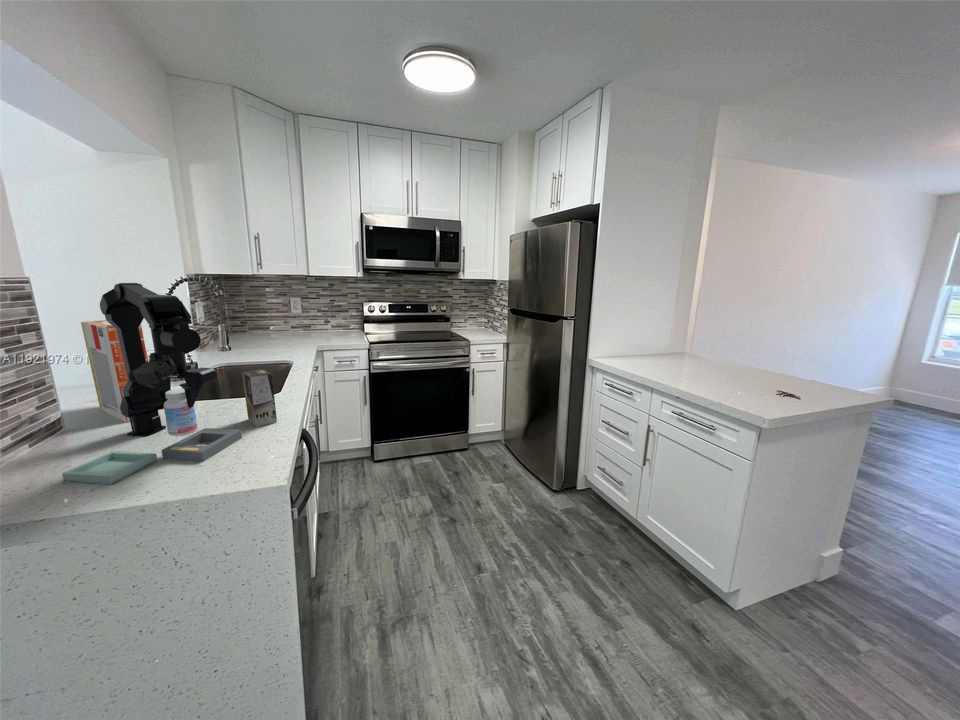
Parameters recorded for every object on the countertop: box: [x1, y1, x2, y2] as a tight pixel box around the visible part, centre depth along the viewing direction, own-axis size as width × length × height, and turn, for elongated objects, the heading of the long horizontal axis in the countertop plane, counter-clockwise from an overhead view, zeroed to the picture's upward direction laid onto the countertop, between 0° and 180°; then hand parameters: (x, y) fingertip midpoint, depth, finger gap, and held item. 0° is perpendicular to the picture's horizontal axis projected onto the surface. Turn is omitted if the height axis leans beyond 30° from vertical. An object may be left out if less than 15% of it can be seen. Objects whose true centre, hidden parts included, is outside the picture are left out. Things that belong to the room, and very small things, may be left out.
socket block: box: [161, 427, 243, 462], centre depth 102 cm, size 11×14×3 cm
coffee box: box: [241, 368, 278, 428], centre depth 120 cm, size 9×6×16 cm
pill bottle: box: [163, 388, 198, 437], centre depth 97 cm, size 6×6×11 cm
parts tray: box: [61, 450, 158, 485], centre depth 90 cm, size 12×11×2 cm
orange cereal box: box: [80, 319, 149, 424], centre depth 124 cm, size 23×8×30 cm, turn 59°
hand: (179, 406), depth 97 cm, fingers closed on pill bottle, 6 cm apart
